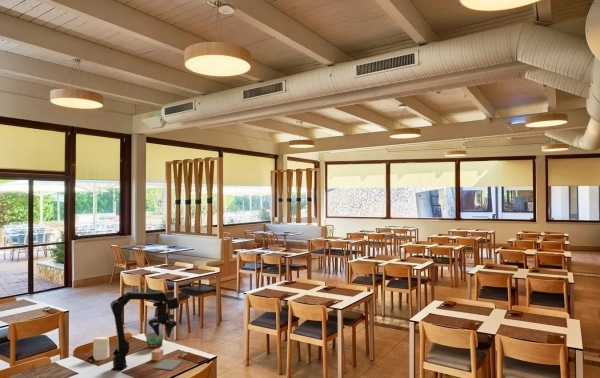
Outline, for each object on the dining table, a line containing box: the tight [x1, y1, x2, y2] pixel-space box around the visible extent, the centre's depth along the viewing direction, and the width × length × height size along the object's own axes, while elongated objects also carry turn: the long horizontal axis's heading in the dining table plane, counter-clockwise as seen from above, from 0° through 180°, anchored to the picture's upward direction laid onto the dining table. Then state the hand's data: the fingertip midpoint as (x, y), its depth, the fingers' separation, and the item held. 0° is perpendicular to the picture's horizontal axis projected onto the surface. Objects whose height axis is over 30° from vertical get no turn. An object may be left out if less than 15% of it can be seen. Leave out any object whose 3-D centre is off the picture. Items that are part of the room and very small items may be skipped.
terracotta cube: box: [151, 348, 164, 362], centre depth 251 cm, size 5×5×5 cm
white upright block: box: [92, 336, 110, 361], centre depth 254 cm, size 9×9×12 cm
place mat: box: [153, 358, 184, 371], centre depth 241 cm, size 12×12×1 cm
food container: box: [144, 329, 165, 350], centre depth 268 cm, size 12×6×10 cm, turn 112°
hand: (163, 336), depth 252 cm, fingers open, 9 cm apart
